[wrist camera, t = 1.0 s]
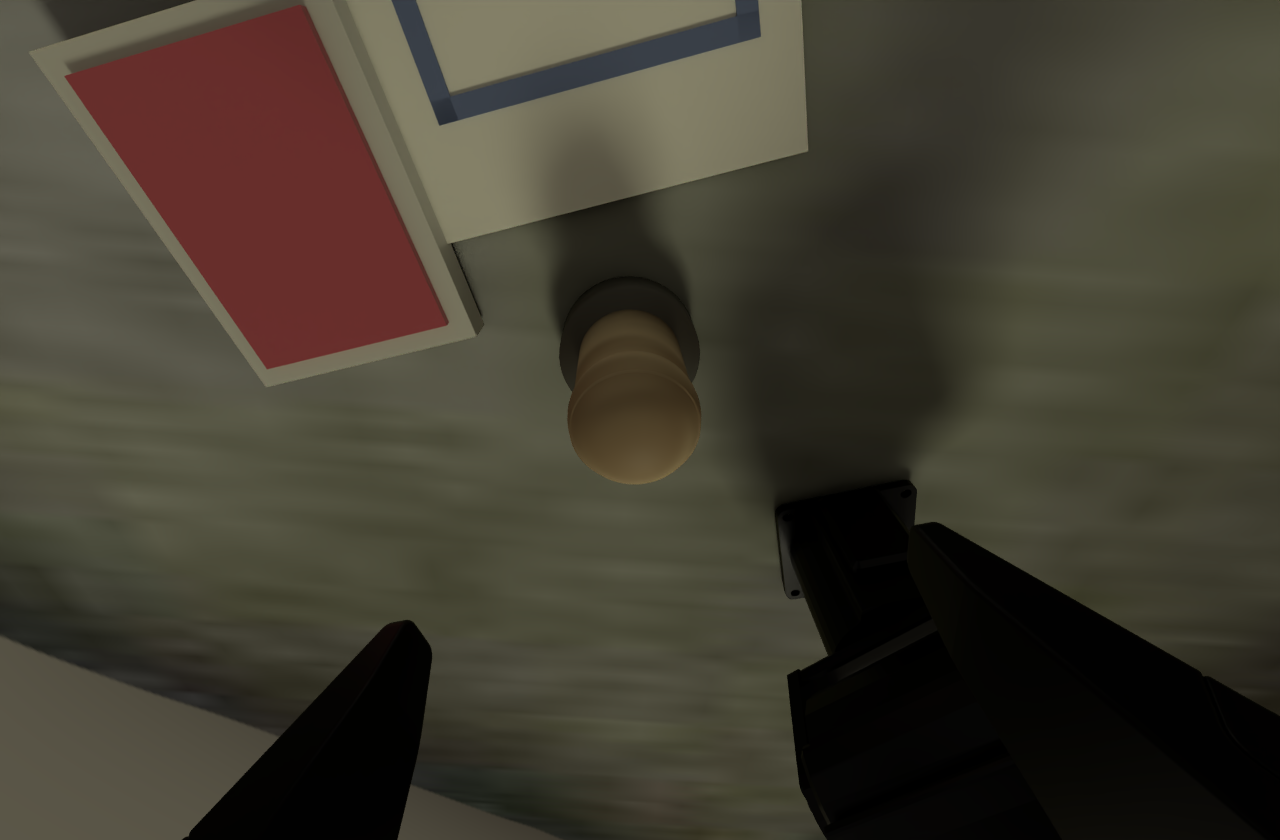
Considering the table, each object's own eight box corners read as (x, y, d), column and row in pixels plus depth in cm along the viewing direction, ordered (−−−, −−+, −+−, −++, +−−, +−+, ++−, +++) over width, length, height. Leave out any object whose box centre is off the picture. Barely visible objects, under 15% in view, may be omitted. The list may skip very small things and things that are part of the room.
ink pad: (484, 324, 18) (474, 339, 17) (284, 372, 19) (261, 391, 18) (339, -25, 13) (309, -41, 12) (71, 56, 14) (16, 50, 13)
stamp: (703, 384, 20) (745, 508, 14) (584, 411, 21) (571, 544, 14) (681, 261, 18) (720, 344, 11) (545, 295, 18) (507, 393, 12)
